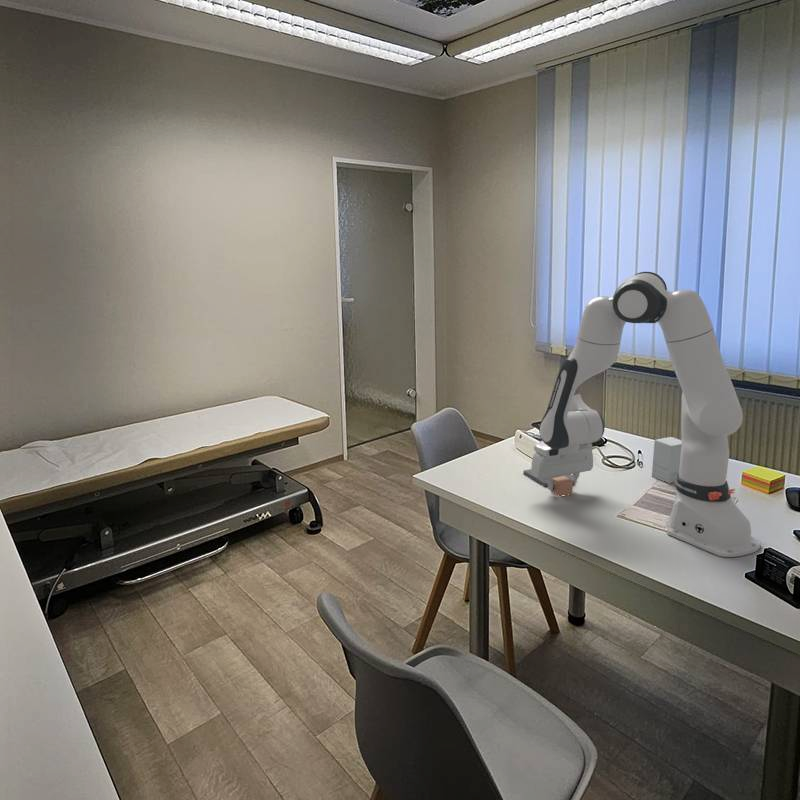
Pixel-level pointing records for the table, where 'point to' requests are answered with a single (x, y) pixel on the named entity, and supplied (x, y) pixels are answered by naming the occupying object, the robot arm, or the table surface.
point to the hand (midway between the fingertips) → (561, 487)
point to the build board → (542, 481)
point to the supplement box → (666, 459)
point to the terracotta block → (562, 485)
